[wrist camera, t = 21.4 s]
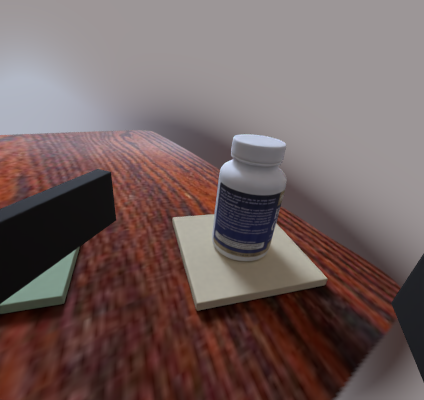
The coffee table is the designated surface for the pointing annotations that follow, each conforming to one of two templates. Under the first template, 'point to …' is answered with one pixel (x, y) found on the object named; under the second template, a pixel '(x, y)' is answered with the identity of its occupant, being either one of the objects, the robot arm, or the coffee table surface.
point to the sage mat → (44, 288)
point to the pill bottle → (249, 197)
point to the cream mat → (240, 267)
